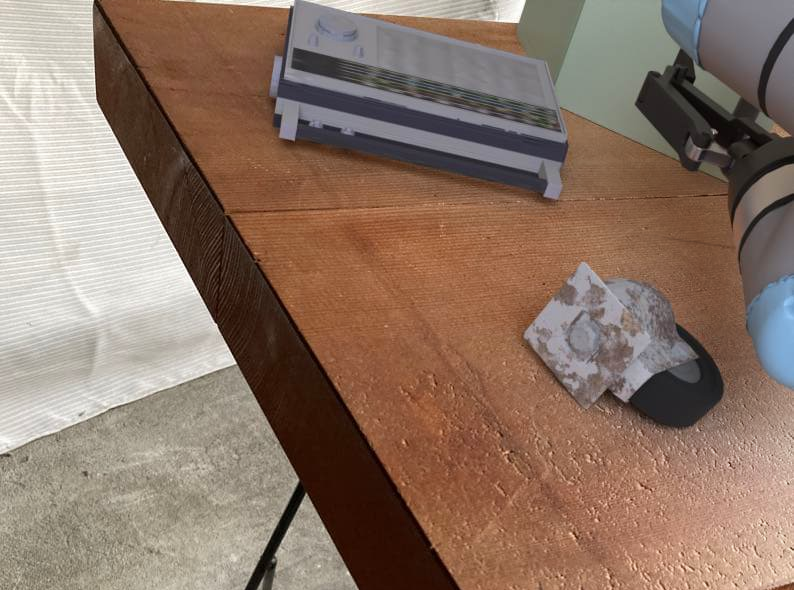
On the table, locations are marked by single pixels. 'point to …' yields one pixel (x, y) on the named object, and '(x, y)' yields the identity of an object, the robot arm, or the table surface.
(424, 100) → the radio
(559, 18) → the cabinet
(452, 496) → the table surface
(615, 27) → the cabinet door
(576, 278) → the camo patterned piece
